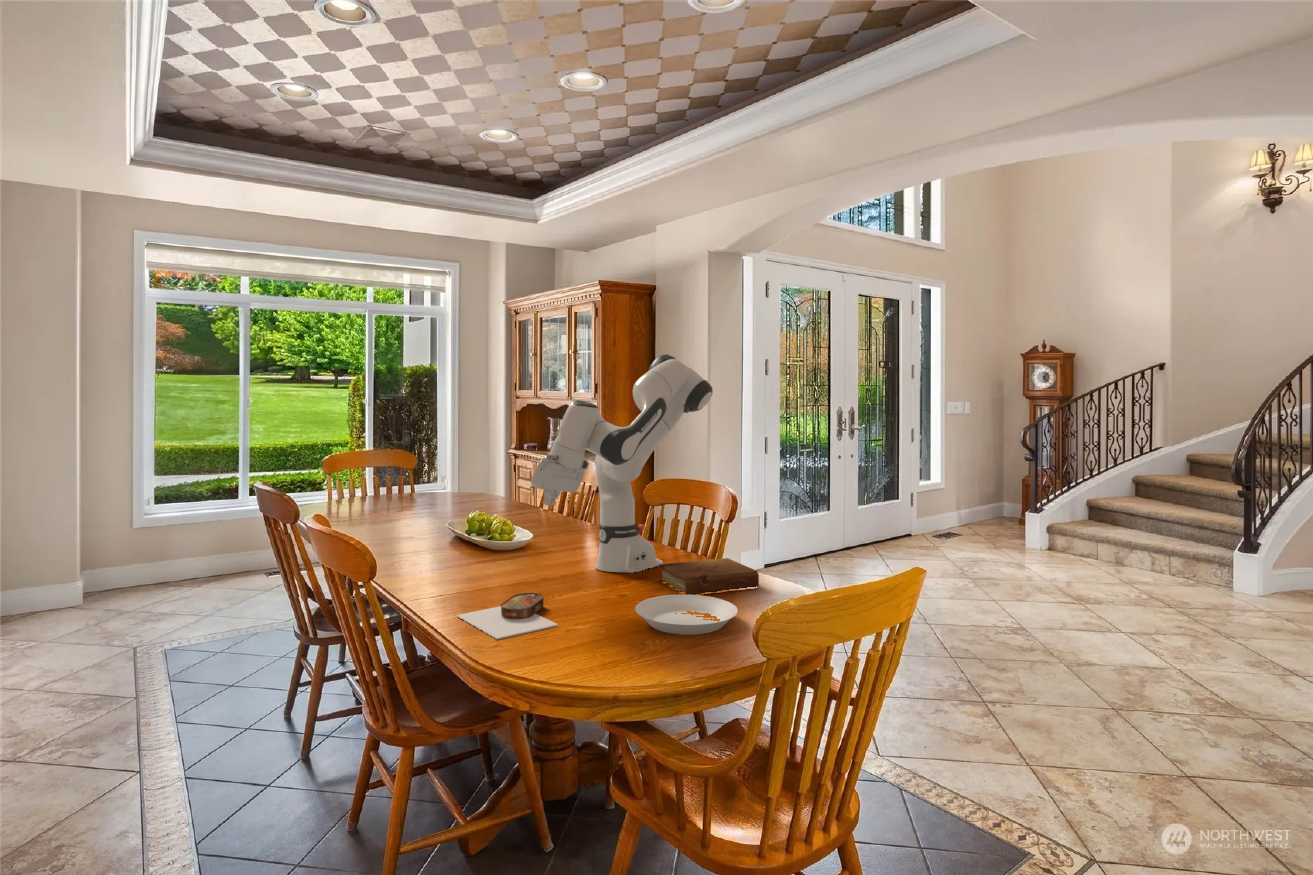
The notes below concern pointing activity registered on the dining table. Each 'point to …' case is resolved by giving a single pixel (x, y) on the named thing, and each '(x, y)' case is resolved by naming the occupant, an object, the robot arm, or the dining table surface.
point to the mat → (505, 623)
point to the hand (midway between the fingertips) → (547, 504)
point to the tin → (522, 605)
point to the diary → (708, 576)
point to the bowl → (665, 620)
